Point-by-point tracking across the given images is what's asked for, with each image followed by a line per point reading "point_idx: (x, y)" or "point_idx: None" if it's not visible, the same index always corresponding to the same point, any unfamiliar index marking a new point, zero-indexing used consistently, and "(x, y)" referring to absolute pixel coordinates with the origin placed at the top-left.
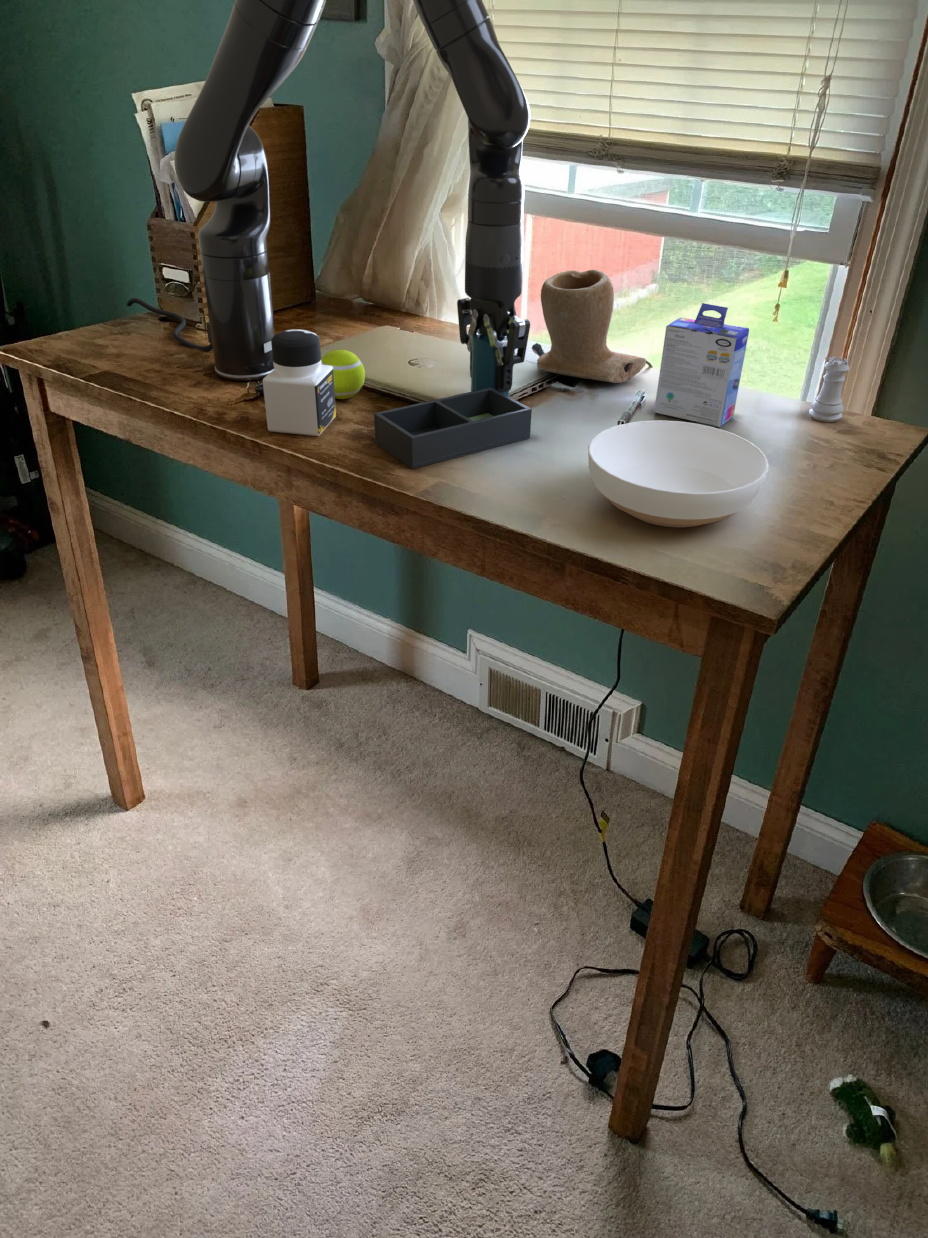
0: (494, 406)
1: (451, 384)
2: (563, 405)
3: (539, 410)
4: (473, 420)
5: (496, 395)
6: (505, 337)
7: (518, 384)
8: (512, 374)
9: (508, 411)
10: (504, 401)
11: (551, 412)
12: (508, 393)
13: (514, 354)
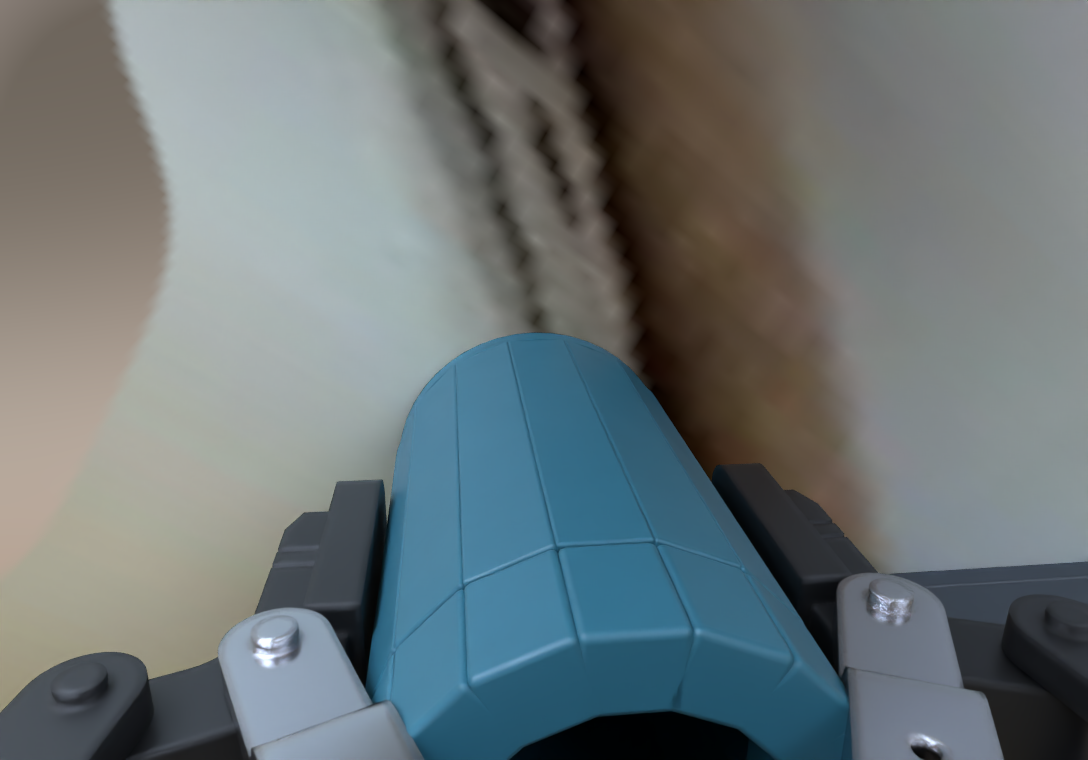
0: None
1: (89, 520)
2: (919, 24)
3: (872, 255)
4: None
5: None
6: (745, 720)
7: (327, 44)
8: (856, 549)
9: None
10: None
11: (954, 202)
12: (633, 380)
13: (1042, 720)
